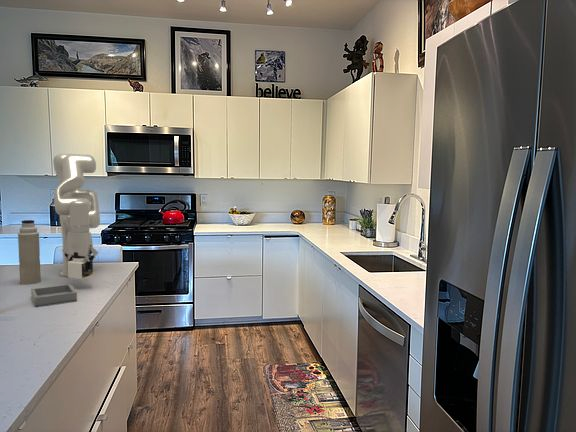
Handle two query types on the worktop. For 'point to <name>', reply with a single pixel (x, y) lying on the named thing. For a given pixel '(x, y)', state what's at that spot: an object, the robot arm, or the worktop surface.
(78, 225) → the robot arm
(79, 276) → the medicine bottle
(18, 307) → the worktop surface
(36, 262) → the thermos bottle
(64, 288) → the tray
